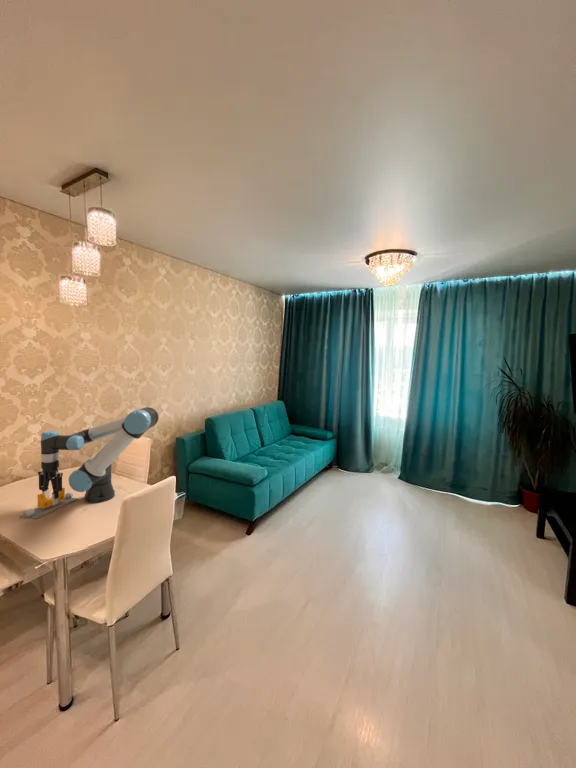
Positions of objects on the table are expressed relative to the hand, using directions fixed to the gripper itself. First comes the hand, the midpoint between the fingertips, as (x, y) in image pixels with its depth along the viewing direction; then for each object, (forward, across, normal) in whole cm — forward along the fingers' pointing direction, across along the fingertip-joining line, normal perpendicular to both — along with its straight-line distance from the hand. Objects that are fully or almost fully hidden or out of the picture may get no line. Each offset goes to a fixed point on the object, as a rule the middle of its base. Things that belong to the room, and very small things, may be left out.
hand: (50, 503), depth 170 cm
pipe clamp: (0, 0, -1) cm, 1 cm away
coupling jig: (+2, 0, 0) cm, 2 cm away
